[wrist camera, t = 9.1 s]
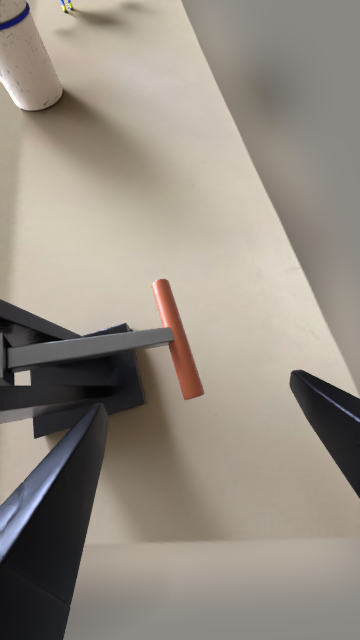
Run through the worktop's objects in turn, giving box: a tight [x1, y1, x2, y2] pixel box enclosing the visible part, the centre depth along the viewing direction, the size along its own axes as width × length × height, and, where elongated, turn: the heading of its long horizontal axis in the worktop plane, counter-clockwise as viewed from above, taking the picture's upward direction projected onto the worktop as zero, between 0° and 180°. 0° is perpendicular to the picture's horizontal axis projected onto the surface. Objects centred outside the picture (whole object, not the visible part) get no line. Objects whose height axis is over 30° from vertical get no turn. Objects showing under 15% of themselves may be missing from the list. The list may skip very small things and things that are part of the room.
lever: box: [0, 279, 204, 400], centre depth 12 cm, size 13×9×2 cm
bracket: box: [0, 299, 146, 439], centre depth 14 cm, size 10×8×13 cm
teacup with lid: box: [0, 0, 63, 111], centre depth 30 cm, size 12×9×12 cm
